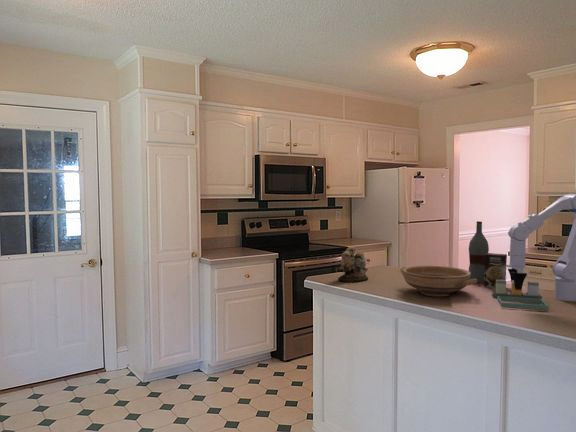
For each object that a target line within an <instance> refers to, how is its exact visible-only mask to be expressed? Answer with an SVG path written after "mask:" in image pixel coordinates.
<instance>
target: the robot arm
mask: <svg viewBox="0 0 576 432" xmlns="http://www.w3.org/2000/svg"><path fill="white" fill-rule="evenodd" d="M565 210H567V211H568V212H570V213H571V214H572V216H573V217H574V220H573V223H572V226H571V230H570V232H569V235H568V238H567V241H566V243H565V246H564V250H563V252H562V255H560V256H559V257H557V260H556V262H555V263H554V264H553V266H552V268H551V271H552V274H554V275H555V276H554V299H555V300H557V301H564V302H576V193H571V192H570V193H565V194H564V195H563V196H561V197H559V198H558V199H556V200H555V201H554V202H553V203H552V204H550V205H549V206H547V207H546V208H544V210H542V211H541V212H539V213H538V214H536V213H533V214H529V215H527V218H525V219H524V220H522V221H519V222H517V225H512V226H511V227H510V228H509V231H508V232H507V234H508V237H509V238H510V242H509V243H510V245H509V264H506V268H507V271H508V273H509V276H510V281H511V282H510V283H511V284H512V280H514V285H515V289H516V290H521V289H522V290H523V284H524V282H525V279H526V277H527V275H528V273H527V272H526V273H525V272H524V270H525V269H526V268H527V267H526V249H527V245H526V244H527V239H528V238H529V237H530V235H531V234H532V233H534V232H535V231H536V230H538V229H539V228H541V227H543V226H544V222H545V221H546V220H548V219H549V218H551V217H552V216H555V215H556V214H558V213H559V212H561V211H565Z"/></svg>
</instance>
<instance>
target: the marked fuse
mask: <svg viewBox="0 0 576 432" xmlns="http://www.w3.org/2000/svg"><path fill="white" fill-rule="evenodd" d="M510 289H511V291H510V292H511V294H516V295H522V293H523V288H522V289H521V290H516V289H515V285H514V280H512V283H511V288H510Z"/></svg>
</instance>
